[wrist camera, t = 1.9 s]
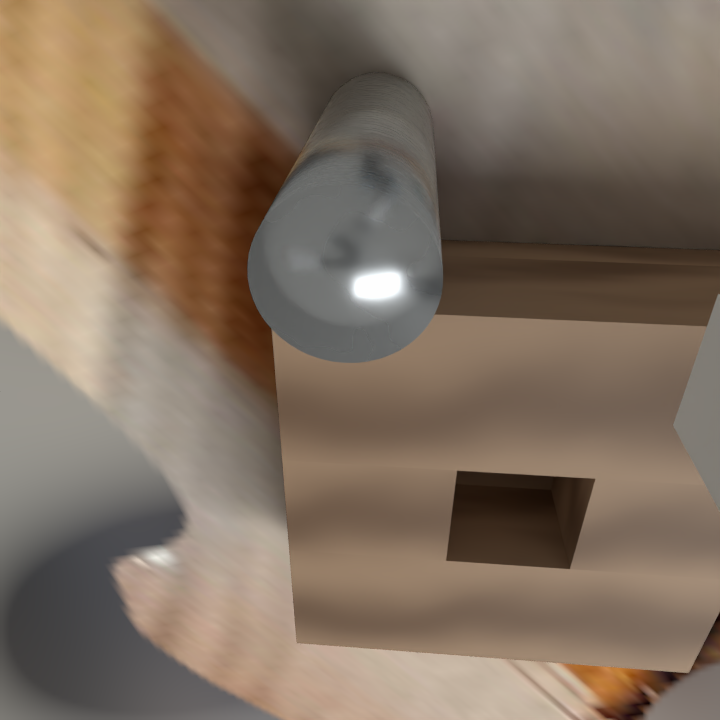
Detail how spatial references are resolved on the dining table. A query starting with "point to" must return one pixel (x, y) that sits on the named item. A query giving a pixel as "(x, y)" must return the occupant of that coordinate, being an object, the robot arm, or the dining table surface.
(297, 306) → the pin
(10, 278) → the dining table surface
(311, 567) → the walnut block
